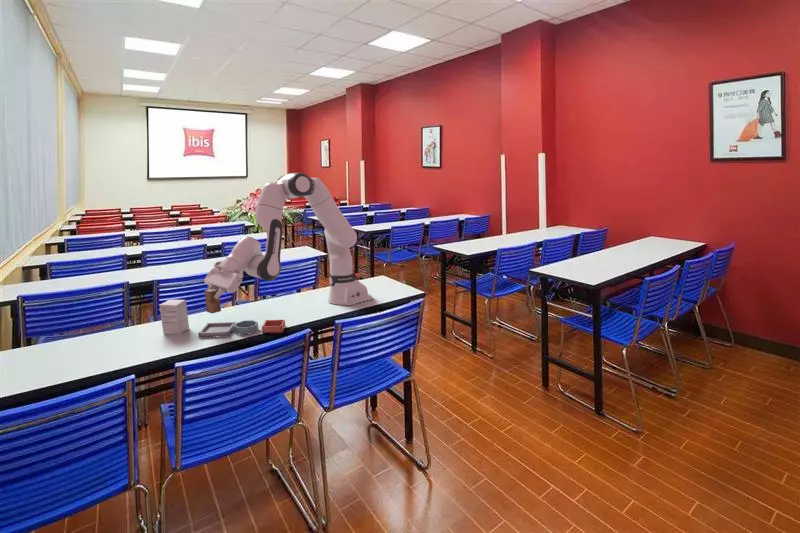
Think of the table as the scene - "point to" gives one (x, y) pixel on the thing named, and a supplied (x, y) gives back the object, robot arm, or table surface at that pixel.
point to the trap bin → (273, 326)
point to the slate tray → (217, 329)
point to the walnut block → (212, 301)
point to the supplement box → (174, 316)
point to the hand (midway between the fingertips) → (211, 297)
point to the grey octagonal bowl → (246, 327)
